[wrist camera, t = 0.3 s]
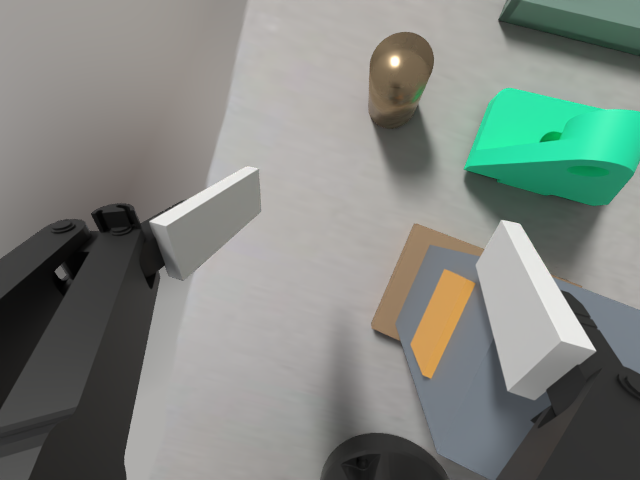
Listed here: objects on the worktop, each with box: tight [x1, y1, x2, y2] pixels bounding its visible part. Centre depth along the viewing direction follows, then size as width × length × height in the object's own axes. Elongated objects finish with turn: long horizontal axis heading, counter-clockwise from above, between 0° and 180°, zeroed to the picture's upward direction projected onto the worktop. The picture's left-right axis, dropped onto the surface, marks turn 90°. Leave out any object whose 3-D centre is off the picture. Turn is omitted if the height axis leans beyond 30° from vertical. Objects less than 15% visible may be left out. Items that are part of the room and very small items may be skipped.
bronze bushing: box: [368, 32, 434, 129], centre depth 24 cm, size 5×5×7 cm
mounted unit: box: [371, 224, 640, 480], centre depth 18 cm, size 12×16×19 cm
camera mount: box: [464, 88, 640, 206], centre depth 21 cm, size 12×8×10 cm, turn 71°
